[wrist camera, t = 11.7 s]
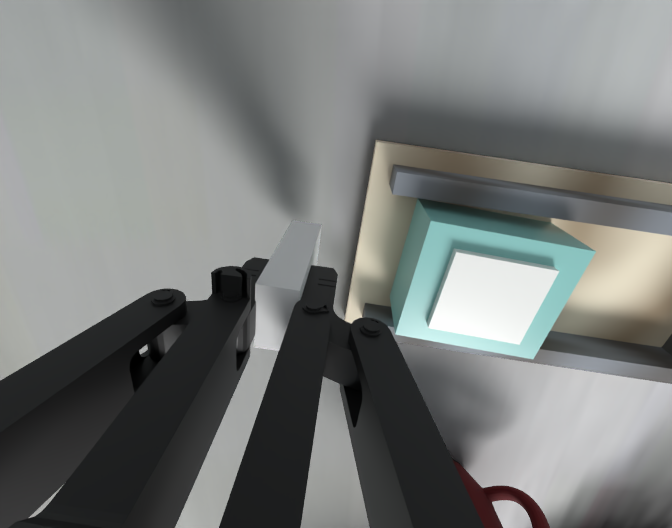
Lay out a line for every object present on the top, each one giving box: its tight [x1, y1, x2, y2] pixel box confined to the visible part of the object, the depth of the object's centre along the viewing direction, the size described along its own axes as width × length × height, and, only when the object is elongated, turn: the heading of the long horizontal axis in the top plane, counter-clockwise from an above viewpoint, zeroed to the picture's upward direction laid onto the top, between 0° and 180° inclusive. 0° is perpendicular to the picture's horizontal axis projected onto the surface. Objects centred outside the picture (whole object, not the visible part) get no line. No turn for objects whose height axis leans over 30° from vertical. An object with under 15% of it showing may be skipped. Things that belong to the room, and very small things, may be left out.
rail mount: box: [345, 140, 672, 384], centre depth 17 cm, size 20×11×4 cm, turn 83°
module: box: [390, 198, 596, 359], centre depth 16 cm, size 7×6×4 cm
